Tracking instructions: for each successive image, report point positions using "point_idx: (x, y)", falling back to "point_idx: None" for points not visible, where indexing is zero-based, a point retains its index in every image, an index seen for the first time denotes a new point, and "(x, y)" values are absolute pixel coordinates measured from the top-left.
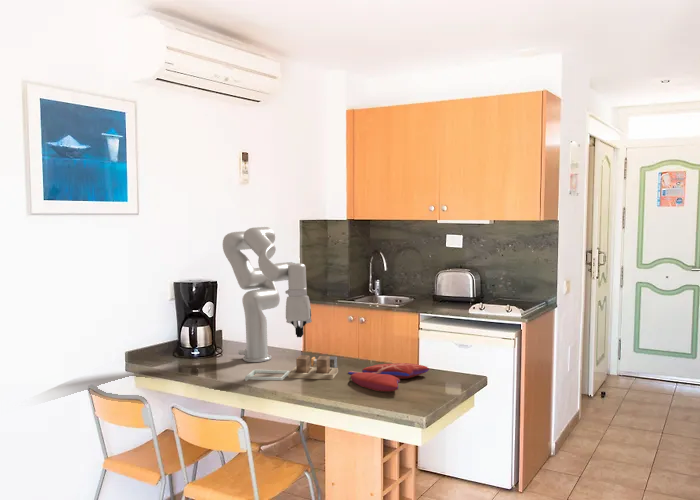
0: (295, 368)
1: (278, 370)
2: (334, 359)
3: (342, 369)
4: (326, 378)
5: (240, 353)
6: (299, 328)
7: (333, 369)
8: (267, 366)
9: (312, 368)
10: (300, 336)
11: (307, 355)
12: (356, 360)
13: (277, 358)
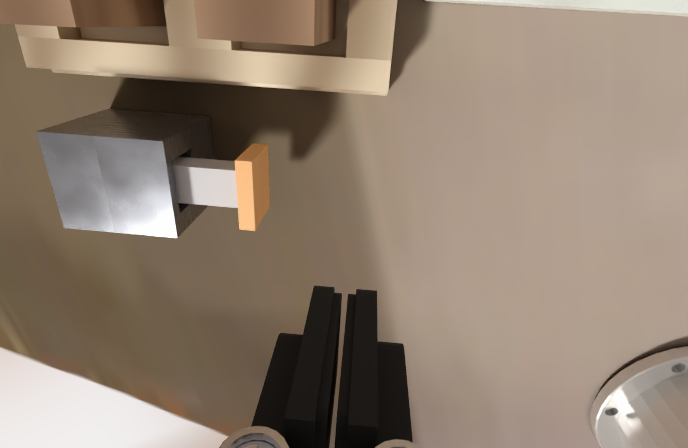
0: (376, 31)
1: (535, 2)
2: (38, 137)
3: None
4: None
5: None
6: (302, 409)
7: None
8: (615, 262)
9: None
10: (313, 291)
11: (223, 36)
12: (99, 363)
13: (550, 412)
